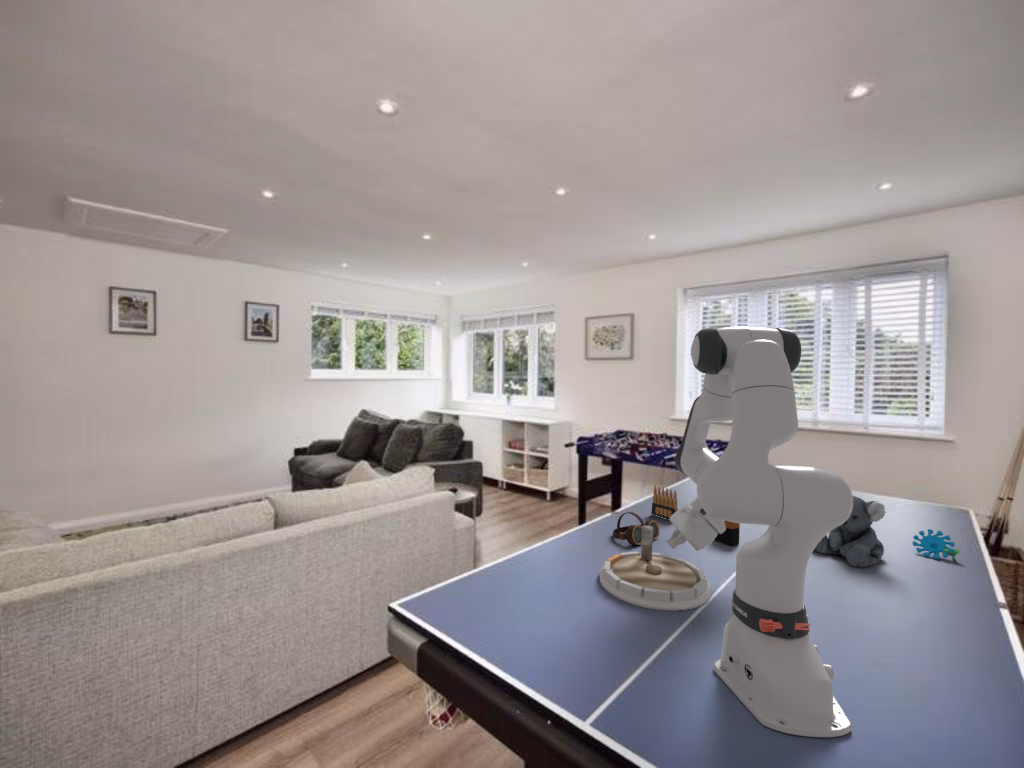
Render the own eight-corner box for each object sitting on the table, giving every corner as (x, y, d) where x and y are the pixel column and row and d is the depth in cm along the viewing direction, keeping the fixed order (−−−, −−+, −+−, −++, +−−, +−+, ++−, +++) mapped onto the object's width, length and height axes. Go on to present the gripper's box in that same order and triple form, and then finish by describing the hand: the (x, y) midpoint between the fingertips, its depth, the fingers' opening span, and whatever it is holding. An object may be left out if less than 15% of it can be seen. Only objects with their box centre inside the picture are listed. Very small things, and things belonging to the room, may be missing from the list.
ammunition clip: (651, 515, 184) (651, 484, 184) (654, 514, 186) (654, 484, 185) (675, 522, 176) (675, 490, 176) (678, 521, 177) (678, 490, 177)
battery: (731, 546, 152) (732, 516, 152) (713, 540, 158) (713, 510, 158) (739, 544, 154) (740, 514, 154) (721, 538, 160) (722, 508, 160)
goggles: (636, 549, 148) (631, 516, 150) (604, 546, 158) (600, 516, 159) (664, 538, 158) (658, 508, 159) (632, 536, 168) (627, 508, 169)
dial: (708, 598, 113) (709, 554, 112) (620, 594, 114) (621, 551, 114) (682, 562, 134) (683, 526, 133) (607, 559, 135) (608, 523, 135)
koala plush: (804, 549, 151) (806, 489, 150) (843, 543, 157) (845, 485, 157) (861, 571, 135) (863, 503, 134) (901, 563, 141) (904, 498, 141)
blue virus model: (905, 546, 150) (921, 523, 152) (909, 556, 152) (924, 533, 155) (949, 564, 140) (965, 538, 142) (952, 574, 143) (968, 549, 145)
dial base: (729, 613, 109) (729, 597, 109) (607, 608, 111) (607, 592, 111) (690, 564, 137) (690, 551, 137) (593, 560, 139) (594, 548, 139)
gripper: (686, 494, 142) (652, 524, 142) (711, 514, 121) (671, 550, 122) (701, 509, 141) (667, 540, 142) (728, 532, 121) (688, 568, 122)
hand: (669, 545), depth 132 cm, fingers closed
